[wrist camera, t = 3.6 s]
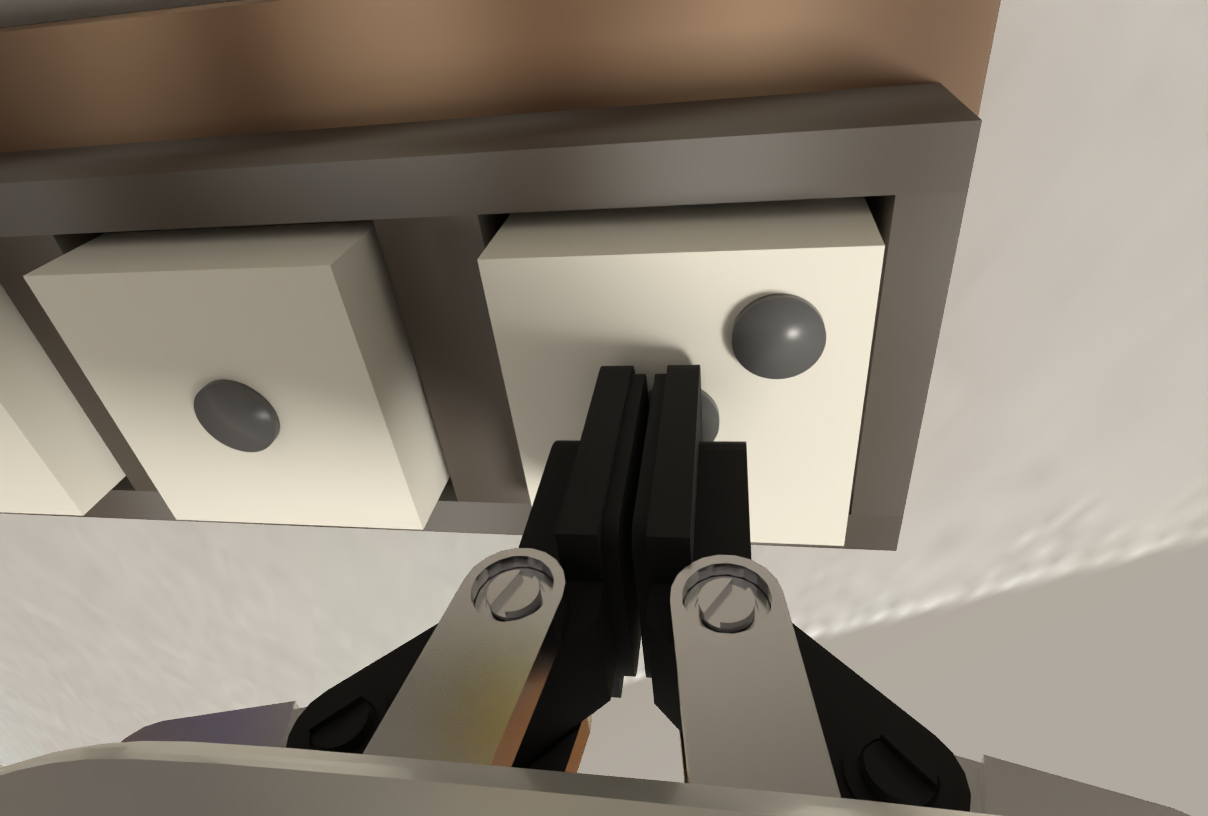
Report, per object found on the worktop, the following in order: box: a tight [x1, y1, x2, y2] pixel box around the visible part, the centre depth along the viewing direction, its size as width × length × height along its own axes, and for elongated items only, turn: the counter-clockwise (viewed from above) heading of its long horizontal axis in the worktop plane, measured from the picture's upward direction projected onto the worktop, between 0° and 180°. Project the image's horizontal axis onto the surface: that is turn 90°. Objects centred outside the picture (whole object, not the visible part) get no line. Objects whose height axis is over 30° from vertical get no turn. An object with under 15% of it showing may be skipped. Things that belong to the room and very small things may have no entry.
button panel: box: [0, 0, 1001, 551], centre depth 16 cm, size 27×13×4 cm, turn 96°
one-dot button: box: [23, 221, 450, 530], centre depth 14 cm, size 6×6×2 cm
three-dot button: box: [477, 197, 885, 546], centre depth 13 cm, size 6×6×2 cm
